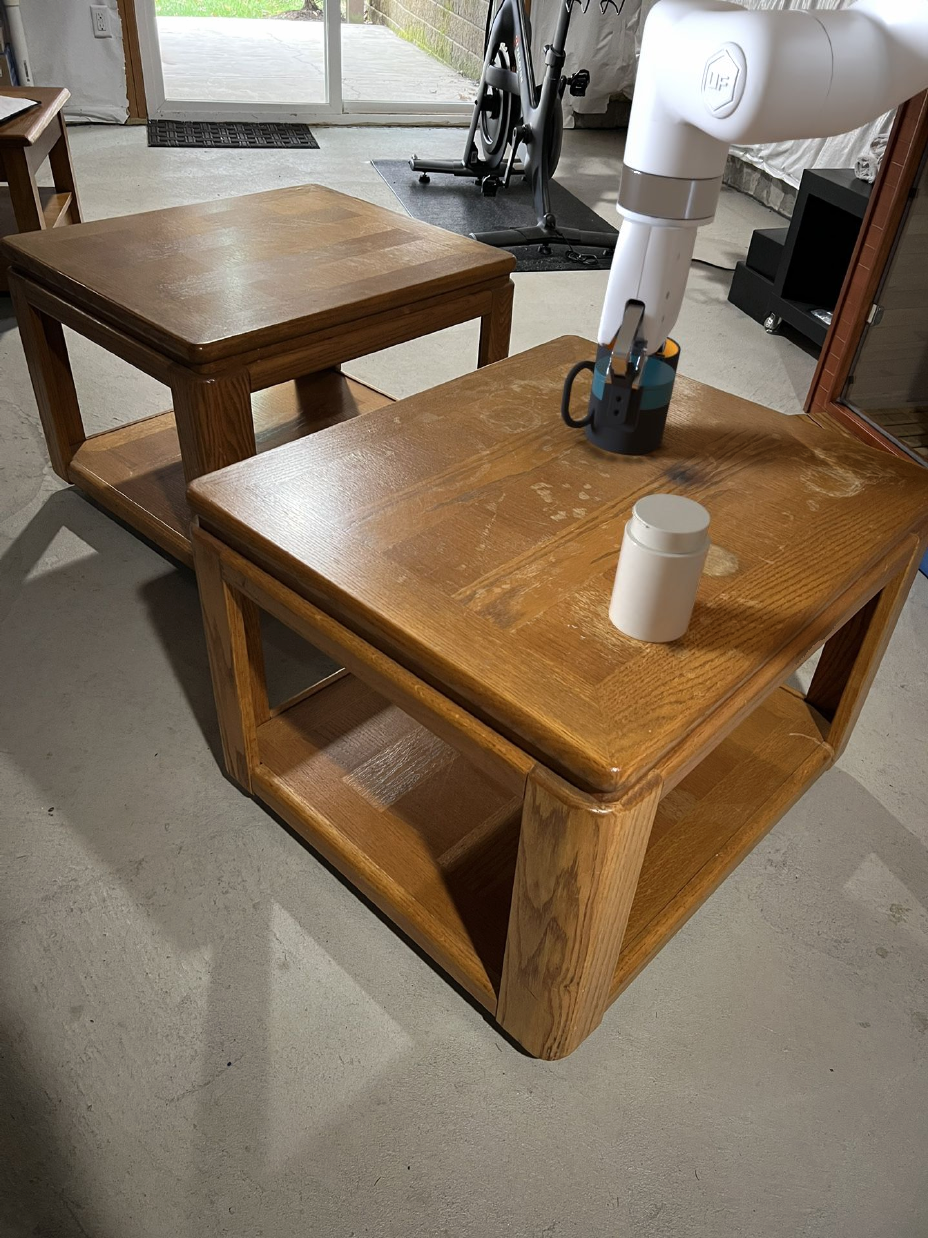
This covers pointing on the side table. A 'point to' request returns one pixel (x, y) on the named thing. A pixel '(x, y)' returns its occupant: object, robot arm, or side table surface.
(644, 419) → the mug
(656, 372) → the jar lid
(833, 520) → the side table surface
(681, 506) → the jar
